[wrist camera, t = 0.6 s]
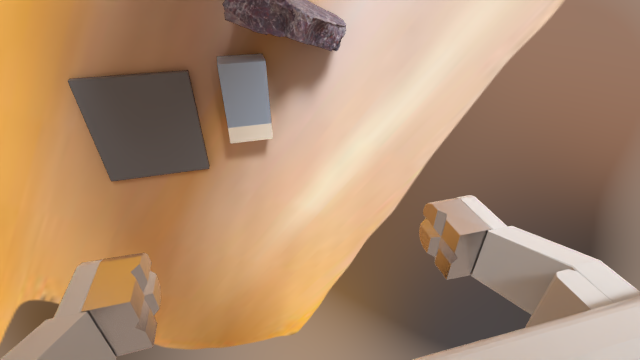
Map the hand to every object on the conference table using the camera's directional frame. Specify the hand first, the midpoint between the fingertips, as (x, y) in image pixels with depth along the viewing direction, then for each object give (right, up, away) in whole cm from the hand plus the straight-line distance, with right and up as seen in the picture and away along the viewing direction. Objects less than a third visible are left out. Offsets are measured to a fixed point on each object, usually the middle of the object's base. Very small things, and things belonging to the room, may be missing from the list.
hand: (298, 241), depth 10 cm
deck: (-10, +14, +38) cm, 42 cm away
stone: (-4, +24, +34) cm, 42 cm away
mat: (-24, +9, +37) cm, 45 cm away
